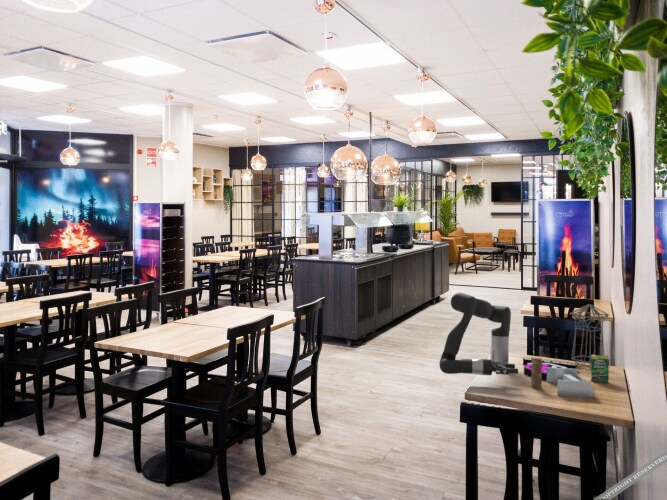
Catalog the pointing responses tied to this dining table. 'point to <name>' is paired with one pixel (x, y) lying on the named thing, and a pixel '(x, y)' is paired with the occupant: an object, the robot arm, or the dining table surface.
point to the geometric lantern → (587, 331)
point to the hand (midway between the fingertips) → (516, 368)
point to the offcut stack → (569, 378)
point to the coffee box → (599, 368)
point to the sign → (545, 364)
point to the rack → (569, 383)
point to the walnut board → (536, 373)
